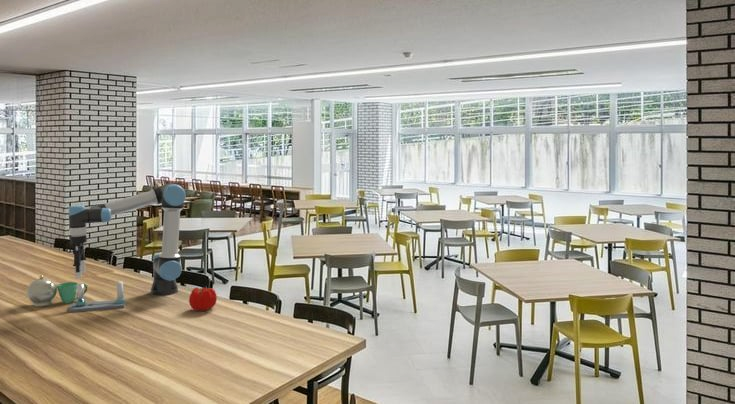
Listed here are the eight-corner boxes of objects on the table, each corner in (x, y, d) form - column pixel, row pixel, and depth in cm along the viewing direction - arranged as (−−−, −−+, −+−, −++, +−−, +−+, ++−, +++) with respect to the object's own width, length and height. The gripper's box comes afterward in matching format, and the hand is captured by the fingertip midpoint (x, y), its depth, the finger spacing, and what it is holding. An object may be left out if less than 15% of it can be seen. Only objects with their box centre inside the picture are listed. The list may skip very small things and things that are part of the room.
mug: (58, 305, 284) (58, 287, 283) (56, 301, 292) (56, 283, 291) (89, 301, 292) (88, 283, 292) (86, 297, 300) (85, 280, 300)
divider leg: (86, 303, 281) (85, 283, 280) (85, 305, 279) (84, 284, 278) (76, 304, 280) (75, 284, 279) (75, 305, 277) (75, 285, 276)
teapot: (63, 304, 287) (62, 274, 286) (38, 310, 275) (37, 279, 274) (42, 299, 295) (41, 270, 294) (17, 305, 283) (16, 275, 281)
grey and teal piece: (125, 301, 292) (125, 279, 291) (124, 307, 281) (123, 284, 280) (72, 306, 283) (71, 283, 282) (68, 312, 272) (67, 288, 271)
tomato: (221, 307, 284) (221, 286, 283) (203, 314, 271) (202, 292, 270) (202, 304, 289) (202, 283, 288) (183, 311, 276) (182, 289, 275)
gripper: (74, 232, 286) (76, 270, 288) (65, 239, 263) (68, 281, 265) (89, 231, 289) (91, 269, 291) (82, 238, 266) (85, 280, 268)
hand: (80, 275), depth 278 cm, fingers open, 13 cm apart
